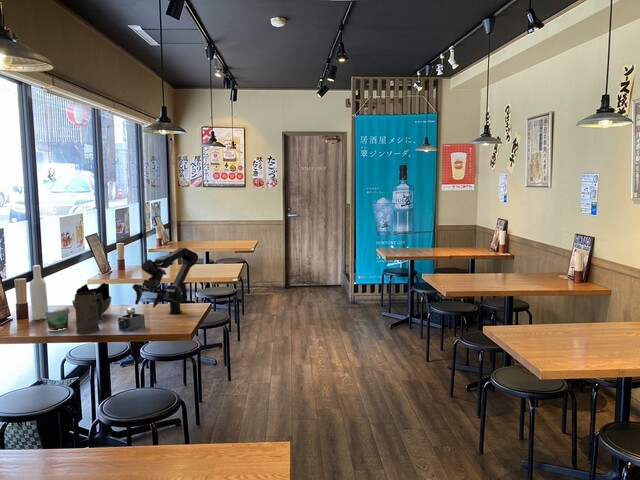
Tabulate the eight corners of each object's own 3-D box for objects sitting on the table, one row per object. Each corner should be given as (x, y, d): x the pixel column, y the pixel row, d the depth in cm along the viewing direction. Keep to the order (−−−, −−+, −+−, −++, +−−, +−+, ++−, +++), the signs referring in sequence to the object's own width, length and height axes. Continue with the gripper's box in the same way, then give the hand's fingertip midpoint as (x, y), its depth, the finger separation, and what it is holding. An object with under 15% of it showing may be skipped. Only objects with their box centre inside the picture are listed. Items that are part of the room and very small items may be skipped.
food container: (53, 333, 260) (51, 313, 259) (46, 331, 264) (44, 312, 263) (76, 327, 271) (74, 308, 270) (69, 325, 274) (67, 306, 273)
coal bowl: (65, 320, 283) (63, 287, 281) (87, 311, 303) (85, 279, 301) (99, 321, 280) (97, 287, 278) (119, 312, 300) (117, 280, 297)
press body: (132, 325, 272) (131, 312, 272) (145, 326, 269) (144, 314, 268) (114, 331, 262) (114, 318, 261) (128, 332, 258) (127, 320, 258)
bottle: (40, 321, 284) (35, 267, 280) (29, 320, 286) (24, 266, 283) (52, 317, 291) (47, 264, 288) (41, 316, 294) (36, 264, 290)
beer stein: (87, 335, 255) (86, 295, 254) (70, 333, 259) (69, 293, 258) (109, 328, 270) (109, 290, 269) (93, 327, 273) (93, 289, 272)
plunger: (131, 325, 271) (130, 306, 270) (141, 326, 268) (140, 307, 267) (122, 328, 265) (120, 309, 264) (132, 330, 262) (130, 310, 261)
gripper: (134, 269, 274) (123, 296, 267) (167, 276, 272) (157, 304, 265) (141, 277, 284) (130, 304, 277) (173, 284, 282) (163, 311, 275)
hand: (145, 305), depth 273 cm, fingers open, 9 cm apart
